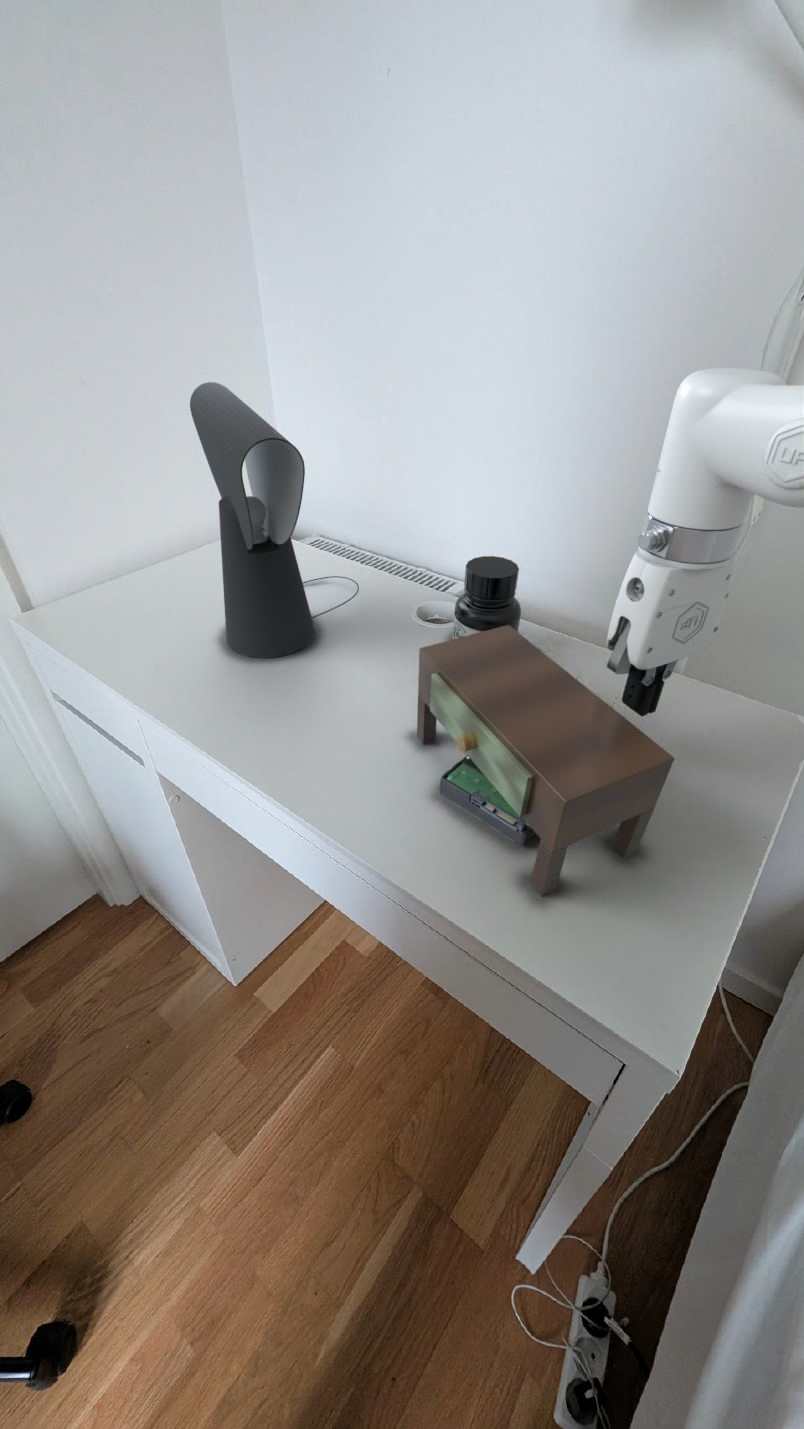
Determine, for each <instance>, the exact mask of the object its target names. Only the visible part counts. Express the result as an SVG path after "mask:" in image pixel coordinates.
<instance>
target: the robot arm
mask: <svg viewBox="0 0 804 1429" xmlns="http://www.w3.org/2000/svg"><path fill="white" fill-rule="evenodd" d="M754 495H755V496H758V497H760V498H762V499H765V500H767V501H769V502H772V503H775V504H778V505H781V506H784V507H785V506H786V507H791V508H804V384H797V385H796V384H795V385H791V384H790V385H787V382H786V381H785V379H784V378H783V377H782V376H780V375H778V374H776V373H775V372H771V371H766V370H761V369H754V368H742V367H741V368H740V367H719V368H718V367H715V368H705V369H700V370H697V371H694V372H692V373H690V374H689V375H688V376H686V377H685V379H683V380H682V382H681V383H680V385H679V387H678V388H677V391H676V394H675V397H674V401H673V405H672V408H671V412H670V416H669V421H668V424H667V428H666V433H665V436H664V440H663V444H662V448H661V453H660V457H659V461H658V465H657V469H656V472H655V477H654V483H653V487H652V491H651V494H650V497H649V498H650V499H649V503H648V506H647V510H646V515H645V518H644V522H643V526H642V531H641V534H640V535H639V536H638V540H637V543H638V548H637V549H638V550H637V551H635V552H634V555H633V556H632V558H631V561H630V563H629V566H628V568H627V570H626V573H625V575H624V578H623V581H622V583H621V585H620V589H619V591H618V595H617V598H616V601H615V604H614V608H613V611H612V614H611V619H610V623H609V627H608V630H607V638H606V647H607V649H608V650H609V651H612V652H611V655H610V656H609V659H608V662H607V664H606V668H607V669H608V670H609V671H611V672H613V673H614V674H615V675H627V679H626V682H625V684H624V689H623V693H622V697H621V702H622V704H624V705H625V706H627V707H628V708H629V709H630V710H632V711H633V712H634V713H636V714H637V715H639V716H640V717H644V716H648V714H653V713H655V712H656V711H657V707H658V705H659V702H660V698H661V695H662V693H663V692H662V691H663V689H664V685H665V680H668V679H669V678H670V677H671V676H672V674H673V672H674V669H675V667H676V666H677V663H678V662H679V661H680V660H682V659H685V658H688V657H690V656H691V657H692V656H694V655H697V654H699V653H702V652H704V651H706V650H707V649H709V648H710V647H711V646H712V645H713V643H714V642H715V640H716V637H717V634H718V631H719V628H720V626H721V622H722V619H723V616H724V613H725V609H726V605H727V601H728V598H729V594H730V591H731V586H732V582H733V578H734V571H735V565H736V563H735V562H736V551H735V549H736V546H737V543H738V540H739V538H740V535H741V531H742V528H743V526H744V523H745V521H746V520H745V519H746V517H747V515H748V511H749V508H750V506H751V503H752V500H753V497H754Z"/></svg>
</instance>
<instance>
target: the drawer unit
mask: <svg viewBox="0 0 804 1429" xmlns="http://www.w3.org/2000/svg"><path fill="white" fill-rule="evenodd" d="M418 652H419V653H418V654H419V655H418V683H417V684H418V686H417V688H418V689H417V692H418V693H417V719H416V720H417V721H416V737H417V738H418V740H419V741H420V742H421V744H422V745H426V744H429V743H432V742H435V741H436V735H437V734H436V733H437V721H438V722H439V724H440V725H441V726H442V727H443V728H444V729H445V731H446V732H447V733H448V734H449V735H450V737H451V738H452V739H453V740H454V741H455V742H456V745H457V747H458V749H459V750H460V752H462V753H465V754H466V756H467V755H468V756H469V757H470V759H471V760H472V761H473V762H474V763H475V764H476V766H477V767H478V768H479V769H480V770H481V772H482V773H483V774H484V775H485V776H486V777H487V779H488V780H489V781H490V782H491V783H492V785H493V786H494V787H495V788H496V789H497V790H498V792H499V793H500V794H501V795H502V796H503V798H504V799H505V800H506V801H507V802H508V803H509V805H510V806H511V807H512V808H513V809H514V811H515V812H516V813H517V814H518V815H519V816H520V817H523V818H524V820H525V821H526V822H527V823H528V824H529V826H530V827H531V828H532V829H533V830H534V831H535V834H536V835H537V836H538V838H540V840H539V841H540V842H539V845H538V849H537V854H536V857H535V861H534V865H533V869H532V874H531V879H530V881H529V882H530V884H531V886H532V887H533V888H534V889H535V891H536V892H537V893H538V894H539V896H540V897H543V896H545V895H547V894H549V893H552V892H553V891H556V889H557V886H558V882H559V880H560V876H561V872H562V869H563V865H564V863H565V859H566V855H567V853H568V852H567V851H568V848H569V846H571V845H574V844H577V843H578V842H581V841H583V840H585V839H587V838H589V837H592V836H595V835H597V834H598V833H602V832H603V831H605V830H607V829H610V828H612V827H615V826H617V825H618V829H617V831H616V834H615V837H614V839H613V842H612V847H613V848H614V849H615V850H616V851H617V853H619V854H620V856H621V857H623V858H626V857H629V856H630V855H633V854H635V853H636V852H638V849H639V847H640V844H641V842H642V840H643V838H644V837H643V836H644V834H645V832H646V829H647V827H648V826H649V823H650V820H651V818H652V815H653V812H654V809H655V807H656V805H657V803H658V800H659V798H660V795H661V794H662V791H663V787H664V786H665V783H666V780H667V778H668V776H669V773H670V771H671V768H672V766H673V764H674V762H675V757H674V756H673V755H672V754H670V753H669V752H668V751H667V750H666V749H664V748H663V747H662V746H660V745H659V744H658V743H657V742H656V741H654V740H653V739H652V738H651V737H649V735H647V734H646V733H644V732H643V731H642V730H641V729H639V728H638V727H637V726H636V725H634V724H633V723H632V722H631V721H629V720H628V719H627V718H626V717H624V716H623V715H622V714H620V713H619V712H618V711H617V710H615V709H614V708H613V707H612V706H610V705H609V704H608V703H607V702H605V700H603V699H602V698H600V697H599V696H598V695H597V694H596V693H594V692H593V690H590V689H589V688H588V687H587V686H586V685H585V684H583V683H582V682H580V680H578V679H577V678H575V677H574V676H573V675H572V674H570V673H569V672H568V671H567V670H565V669H564V668H563V667H562V666H561V665H560V664H558V663H557V662H555V660H553V659H552V658H551V657H549V656H548V655H547V654H545V653H544V652H543V651H542V650H540V649H539V648H538V647H537V646H536V645H535V644H533V643H532V642H531V641H529V640H528V639H527V638H526V637H525V636H524V635H522V634H521V633H520V632H519V631H518V632H517V631H516V630H514V629H513V628H512V627H511V626H509V625H506V626H502V627H499V628H495V629H491V630H487V631H483V632H479V633H476V634H472V635H468V636H464V637H460V638H457V639H453V638H452V639H450V640H445V641H441V642H438V643H434V644H430V645H427V646H423V647H419V651H418Z"/></svg>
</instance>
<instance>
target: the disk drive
mask: <svg viewBox="0 0 804 1429" xmlns="http://www.w3.org/2000/svg"><path fill="white" fill-rule="evenodd" d="M439 786H440V787H439V794H440V795H441V796H444V797H445V798H447V799H448V800H449V801H450V802H452V803H453V804H454V805H456V806H458V807H459V808H461V809H462V810H464V811H465V812H467V813H469V814H470V815H472V816H473V817H475V818H476V819H478V820H480V821H481V822H482V823H484V824H486V825H487V826H489V827H490V828H492V829H494V831H497V832H498V833H500V834H501V835H503V836H505V837H506V838H508V839H510V840H511V841H512V842H514V843H517V844H518V845H520V846H523V845H525V843H526V842H528V841H529V840H530V839H531V838H532V837H533V836H534V835H535V834H536V833H535V831H534V830H533V829H532V828H531V827H530V826H529V824H528V823H527V822H526V821H525V820H524V818H523V817H520V816H519V815H518V814H517V813H516V812H515V811H514V809H513V808H512V807H511V806H510V805H509V803H508V802H507V801H506V800H505V799H504V798H503V796H502V795H501V794H500V793H499V792H498V790H497V789H496V788H495V787H494V786H493V785H492V783H491V782H490V781H489V780H488V779H487V777H486V776H485V775H484V774H483V773H482V772H481V770H480V769H479V768H478V767H477V766H476V764H475V763H474V762H473V761H472V760H471V759H470V757H469V756H468V755H467V754H466V756H464V757H463V758H462V759H461V760H459V761H458V762H457V763H455V764H454V765H452V767H451V768H450V769H448V770H447V771H446V772H444V774H443V775H441V777H440V785H439Z"/></svg>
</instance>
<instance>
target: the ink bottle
mask: <svg viewBox="0 0 804 1429" xmlns="http://www.w3.org/2000/svg"><path fill="white" fill-rule="evenodd" d="M464 571H465V573H464V584H463V585H464V592H463V593H462V594H460V596H459V597H458V598H457V600H456V601H455V606H454V612H453V613H454V614H453V630H452V640H453V639H457V638H460V637H464V636H468V635H472V634H476V633H479V632H483V631H487V630H491V629H495V628H499V627H502V626H506V625H509V626H511V627H512V628H513V629H514V630H516V631H517V632H518V633H519V629H520V622H521V616H522V606H521V604H520V602H519V600H518V599H517V598H516V597H515V596H516V593H517V592H516V590H517V587H518V578H519V572H520V568H519V566H518V564H517V563H516V562H514V561H513V560H512V559H508V558H505V557H501V556H495V555H482V556H479V557H473V558H472V559H470V560H468V561H467V563H466V565H465V570H464Z"/></svg>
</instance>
